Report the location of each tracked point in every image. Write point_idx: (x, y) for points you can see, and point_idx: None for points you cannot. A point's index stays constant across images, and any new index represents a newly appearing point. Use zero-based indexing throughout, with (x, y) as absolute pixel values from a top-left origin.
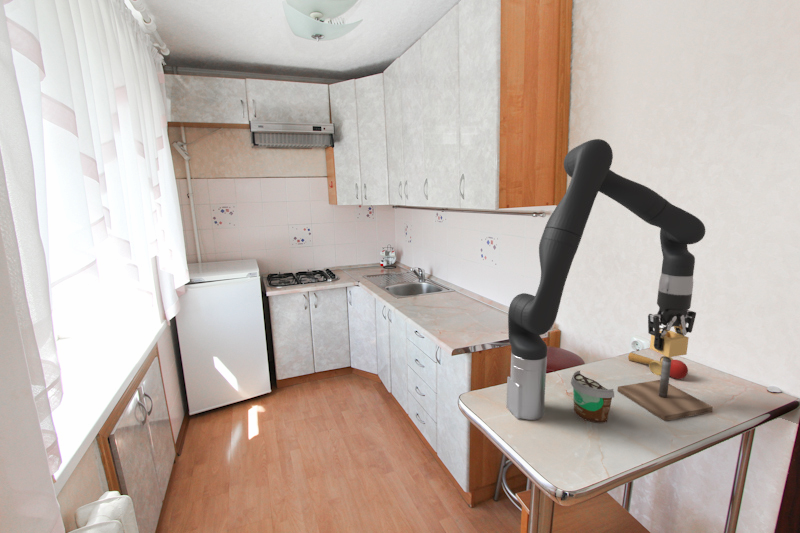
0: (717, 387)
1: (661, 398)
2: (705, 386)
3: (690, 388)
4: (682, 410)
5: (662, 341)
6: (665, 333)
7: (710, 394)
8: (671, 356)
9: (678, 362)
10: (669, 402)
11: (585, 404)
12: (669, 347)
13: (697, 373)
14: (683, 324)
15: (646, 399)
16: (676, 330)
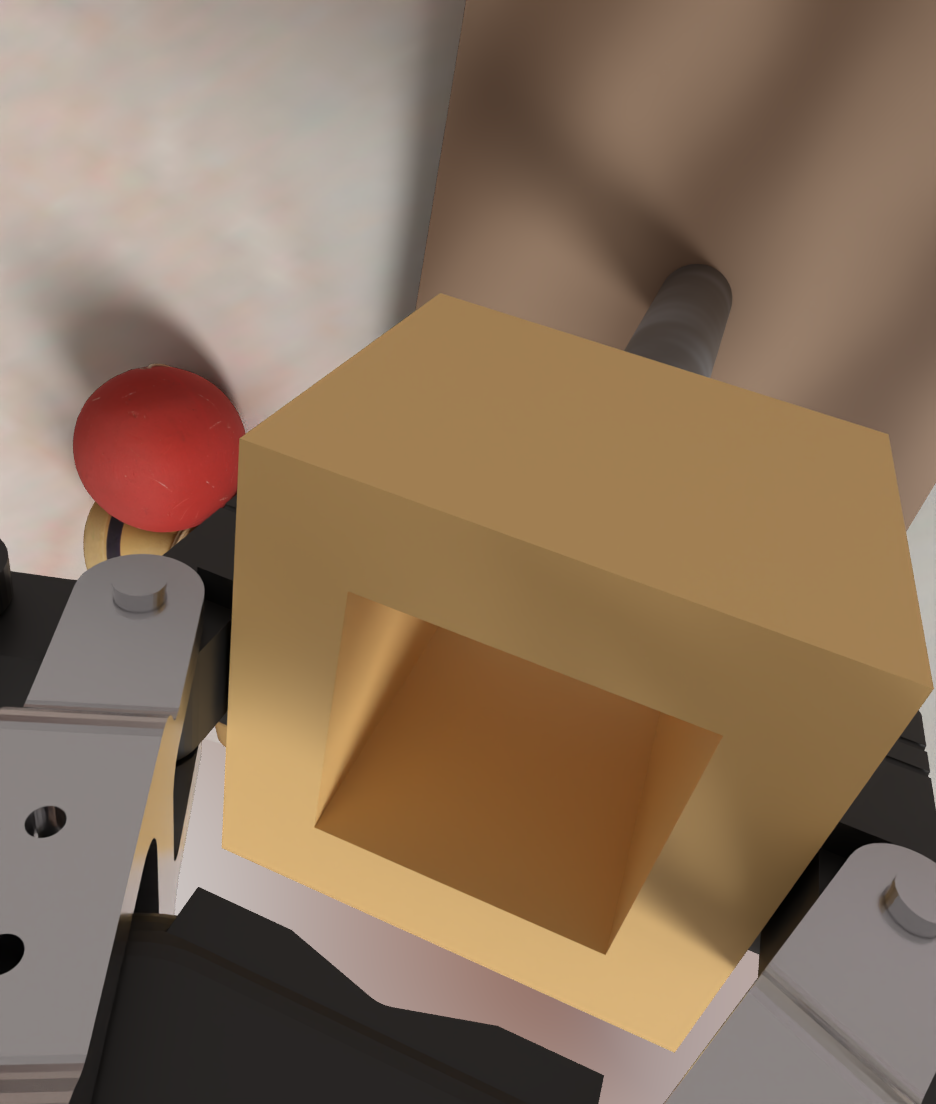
0: (55, 145)
1: (755, 284)
2: (126, 210)
3: (262, 263)
4: (864, 10)
5: (882, 772)
6: (828, 944)
7: (207, 108)
8: (812, 414)
9: (126, 466)
10: (783, 193)
11: None
12: (897, 555)
13: (12, 353)
14: (46, 859)
15: (913, 358)
16: (188, 765)
